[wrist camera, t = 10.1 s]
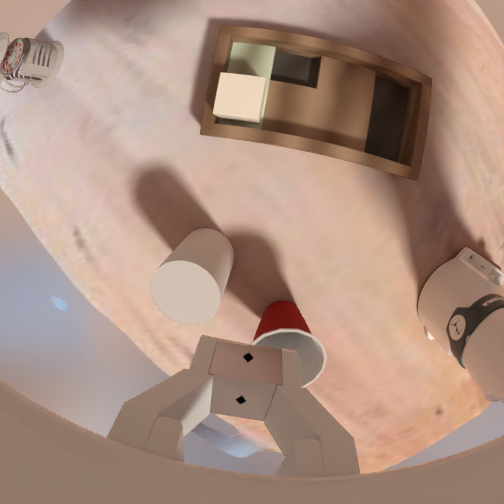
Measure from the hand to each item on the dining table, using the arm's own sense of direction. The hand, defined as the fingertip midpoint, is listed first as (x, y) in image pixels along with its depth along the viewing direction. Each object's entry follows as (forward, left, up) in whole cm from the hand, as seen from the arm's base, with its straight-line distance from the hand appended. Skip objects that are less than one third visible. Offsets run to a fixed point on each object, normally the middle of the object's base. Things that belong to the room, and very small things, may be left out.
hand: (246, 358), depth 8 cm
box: (-5, -14, -31) cm, 35 cm away
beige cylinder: (+7, +10, -31) cm, 34 cm away
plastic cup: (-6, +18, -31) cm, 37 cm away
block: (+5, -12, -29) cm, 32 cm away
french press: (+43, -20, -31) cm, 57 cm away
